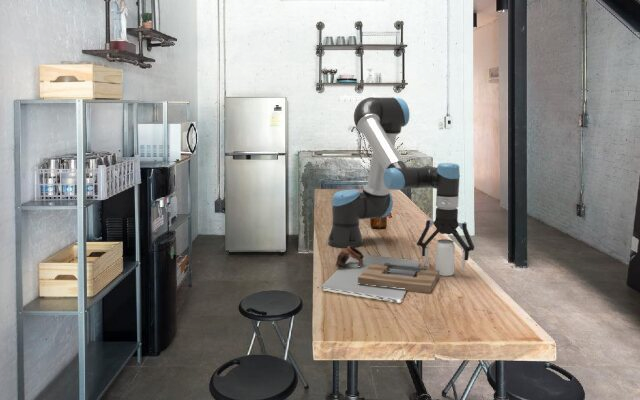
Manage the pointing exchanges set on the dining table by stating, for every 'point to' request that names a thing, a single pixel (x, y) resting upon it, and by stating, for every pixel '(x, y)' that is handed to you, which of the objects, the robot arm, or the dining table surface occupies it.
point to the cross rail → (404, 267)
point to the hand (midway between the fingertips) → (444, 267)
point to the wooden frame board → (399, 279)
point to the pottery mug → (345, 255)
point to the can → (445, 257)
